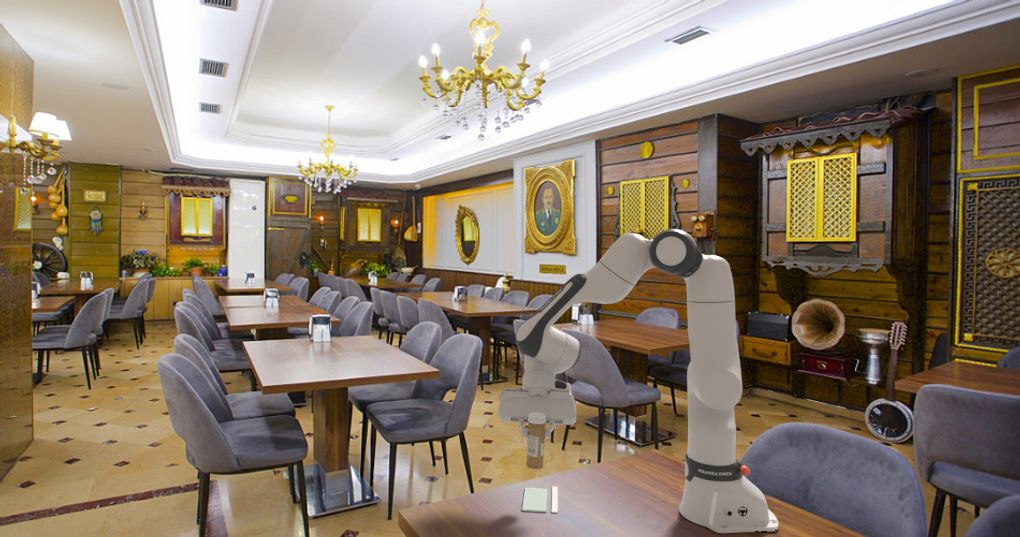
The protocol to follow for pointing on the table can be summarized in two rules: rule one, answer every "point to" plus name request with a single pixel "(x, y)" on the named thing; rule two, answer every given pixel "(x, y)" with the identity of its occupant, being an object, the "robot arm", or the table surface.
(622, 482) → the table surface
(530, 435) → the sprinkles bottle
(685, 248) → the robot arm
